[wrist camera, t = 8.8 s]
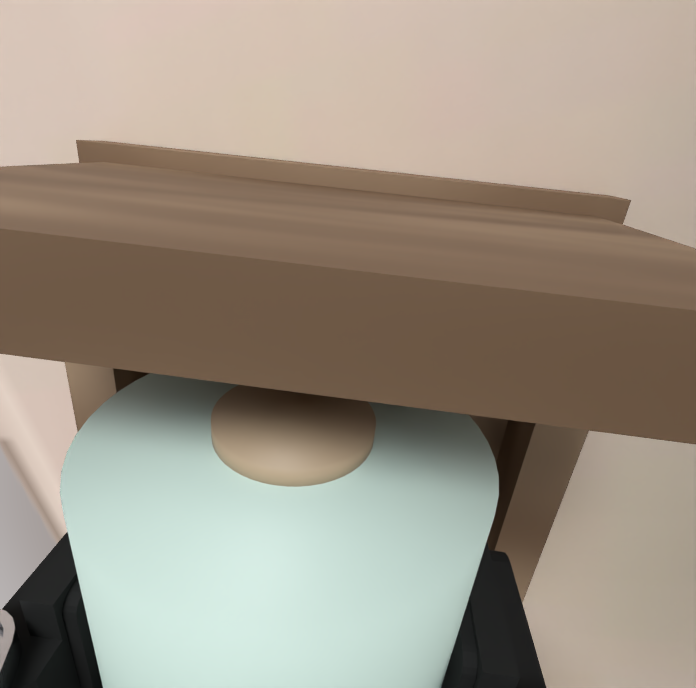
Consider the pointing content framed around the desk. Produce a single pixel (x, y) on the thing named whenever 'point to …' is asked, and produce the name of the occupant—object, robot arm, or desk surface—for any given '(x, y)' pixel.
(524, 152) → the desk surface
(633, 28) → the desk surface
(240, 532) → the roll
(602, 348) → the holder
